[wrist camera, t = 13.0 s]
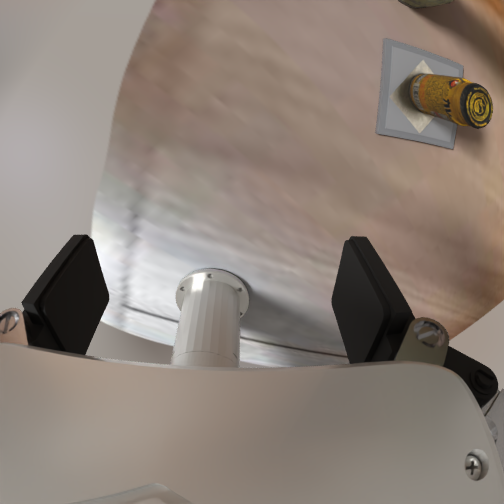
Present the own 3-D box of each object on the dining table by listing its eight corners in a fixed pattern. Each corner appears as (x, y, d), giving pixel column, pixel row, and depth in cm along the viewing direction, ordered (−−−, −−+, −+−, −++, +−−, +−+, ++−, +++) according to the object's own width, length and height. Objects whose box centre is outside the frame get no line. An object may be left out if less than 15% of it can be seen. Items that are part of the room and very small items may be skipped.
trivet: (450, 147, 37) (453, 149, 36) (375, 132, 36) (378, 134, 35) (460, 65, 29) (463, 65, 28) (383, 38, 29) (386, 38, 28)
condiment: (450, 97, 32) (505, 112, 21) (418, 133, 35) (469, 157, 25) (422, 59, 29) (477, 62, 19) (388, 96, 32) (438, 108, 22)
